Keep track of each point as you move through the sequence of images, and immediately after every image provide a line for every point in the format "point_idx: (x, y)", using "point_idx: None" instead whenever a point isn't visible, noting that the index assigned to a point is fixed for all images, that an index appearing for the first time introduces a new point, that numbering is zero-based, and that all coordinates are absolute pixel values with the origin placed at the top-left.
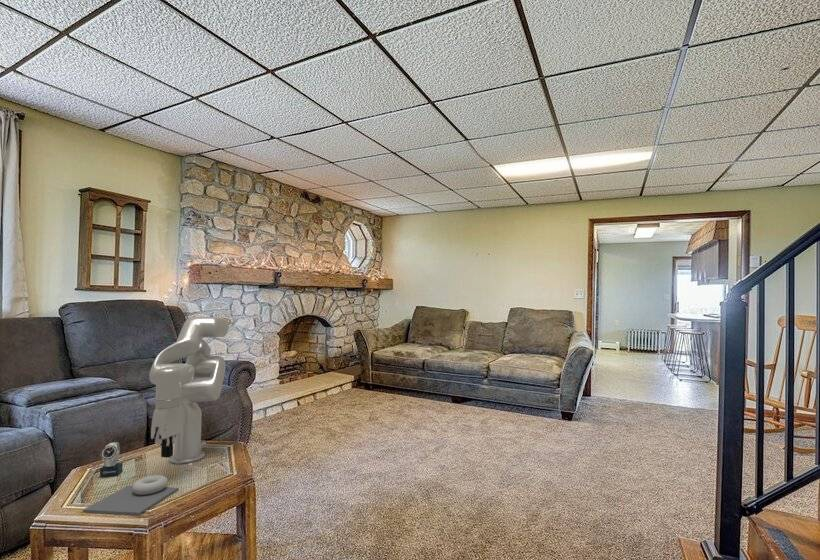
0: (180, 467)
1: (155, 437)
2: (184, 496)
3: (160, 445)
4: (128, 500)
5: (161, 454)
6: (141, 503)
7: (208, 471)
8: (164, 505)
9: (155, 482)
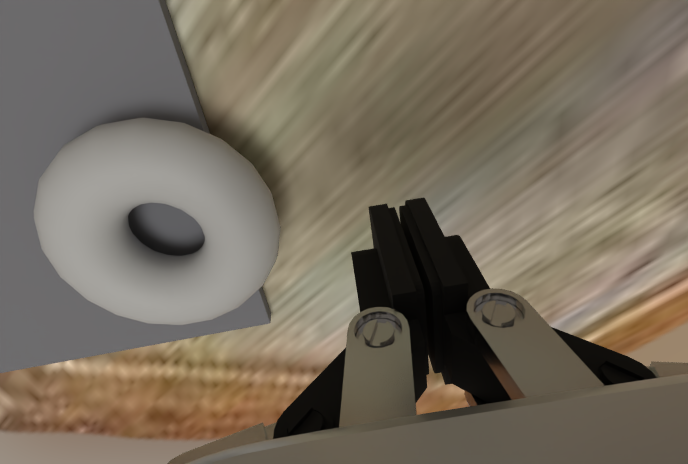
0: (624, 30)
1: (278, 454)
2: (229, 377)
3: (352, 325)
4: (2, 221)
5: (372, 220)
6: (38, 312)
7: (533, 270)
8: (121, 374)
9: (143, 317)
